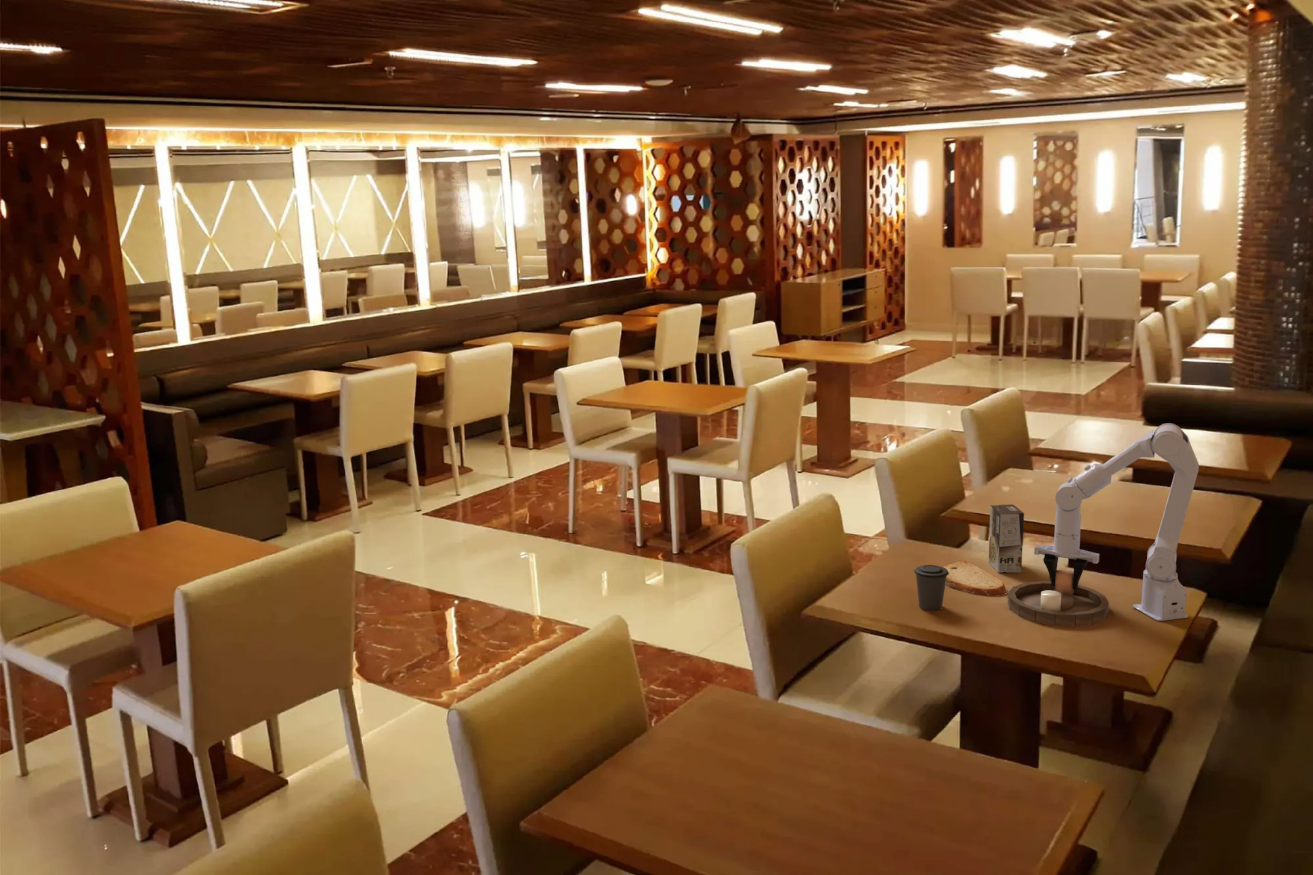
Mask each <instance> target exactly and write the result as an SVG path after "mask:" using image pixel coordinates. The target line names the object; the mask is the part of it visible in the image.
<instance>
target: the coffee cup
mask: <svg viewBox="0 0 1313 875" xmlns="http://www.w3.org/2000/svg"><path fill="white" fill-rule="evenodd" d="M913 573H914V574H915V576H916V588H917V597H918V607H919V608H920V609H922V610H924V611H929V612H937V611H940V610H942V608H943V602H944V596H945V590H946V585H945V583H946V576H947V575H948V574H949V572H948V570H947V569H946V568H944V566H940V565H935V564H924V565H919V566H917V567H916V568H915V569H914V570H913Z"/></svg>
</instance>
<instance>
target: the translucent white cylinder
mask: <svg viewBox="0 0 1313 875" xmlns="http://www.w3.org/2000/svg"><path fill="white" fill-rule="evenodd" d="M1040 609H1043V610H1049V611H1054V612H1060V610H1061V593H1059V592H1057V591H1052V590H1046V591H1042V592H1041V605H1040Z"/></svg>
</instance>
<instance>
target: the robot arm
mask: <svg viewBox="0 0 1313 875" xmlns="http://www.w3.org/2000/svg"><path fill="white" fill-rule="evenodd" d="M1155 454H1156V455H1157V456H1158V457H1160V458H1162V459H1163V460H1164V461H1166V462H1167V463H1168V464H1169V465H1170V467H1171V468H1172V469H1173V470H1174V473H1173V478H1172V482H1171V485H1170V487H1169V488H1170V489H1169V491H1168V492H1169V493H1168V496H1167V500H1166V503H1165V506H1164V509H1163V515H1162V517H1161V522H1160V525H1159V527H1158V528H1159V529H1158V532H1157V534H1156V538H1155V540H1154V543H1153V544H1151V546H1150V547H1148V550H1147V555H1146V557H1147V559H1146V562H1145V569H1144V570H1143V574H1142V575H1143V577H1142V589H1141V590H1142V591H1141V603H1137V604H1133V605H1132V608H1134V609H1136V610H1137V611H1139V612H1140V613H1143V614H1145V615H1146V616H1148V617H1149V618H1151V619H1153V620H1155V621H1158V622H1161V621H1171V620H1179V619H1187V618H1189V615H1188V614H1186V604H1187V590H1186V588H1185V587H1184V586H1183V585H1182V583H1181V582H1180V581H1179V578H1178V576H1179V575H1178V572H1176V571H1177V564H1176V563H1177V558H1178V555H1177V554H1178V553H1177V549H1178V544H1179V539H1180V537H1181V533H1182V530H1183V527H1184V522H1185V519H1186V515H1187V512H1188V508H1189V504H1190V501H1191V498H1192V494H1193V491H1194V488H1195V484H1196V479H1197V476H1198V474H1199V467H1200V466H1199V461H1198V458H1197V457H1196V453H1195V451H1194V450H1193V447H1192V445H1191V441H1190V438H1189V436H1188V435H1187V434H1186V433H1185V432H1184V431H1183V430H1182V428H1181V427H1179V425H1176V424H1175V423H1171V422H1169V423H1162V424H1161V425H1159V426H1158V427H1156V429H1155V430H1154V429H1153V430H1149V431H1148V432H1146V433H1145V434H1143V435H1141V436H1140V437H1139V438H1136V440H1133V442H1131V443H1129V445H1127V446H1126V447H1125V448H1124V449H1122V450H1121V451H1120V452H1118V453H1117V454H1115V455H1114V456H1113V457H1112V458H1111V457H1110V459H1108V460H1107V461H1105V462H1104V463H1102V464H1101V463H1093V464H1092V465H1090V463H1089V464H1087V465H1085V466H1084V468H1083V469H1084V470H1083V471H1082V472H1080V473H1078V474H1077V475H1076V476H1074V477H1069V478H1068V479H1067V482H1064V483H1062V484H1061V485H1060V486H1059V487H1058V489H1057V490H1056V491H1057V492H1056V494H1055V496H1054V497H1055V503H1056V506H1055V507H1056V508H1055V510H1056V513H1055V516H1054V517H1055V518H1054V538H1053V539H1054V540H1053V541H1054V542H1053V543H1054V544H1053V545H1041V544H1036V545H1035V546H1034V549H1033V550H1034V552H1033V555H1036V556H1039V555H1043V559H1042V560H1043V564H1044V566H1045V568H1046V569H1047V571H1048V572H1047V573H1048V576H1049V579H1050V581H1051V586H1055V572H1056V571H1057V570H1058V562H1059V558H1064V559H1069V560H1075V561H1074V562H1073V564H1072V566H1073V572H1074V580H1073V589H1075V590H1076V589H1077V588H1078V585H1079V583H1080V579H1081V577H1082V575H1083V572H1084V570H1085V568H1086V566H1087V564H1088V563H1089V562H1090V563H1092V564H1098V563H1099V562H1100V553H1096V552H1093V551H1088V550H1085V549H1080V546H1081V545H1080V544H1081V524H1082V514H1081V506H1082V505H1081V504H1082V502H1083V500H1087V499H1089V498H1090V497H1093V495H1095V494H1097V493H1098V492H1100V491H1101V490H1102V489H1104V488H1105V487H1107V486H1108V485H1111V482H1112V476H1113V475H1115V474H1117V473H1118V472H1120V471H1121V470H1123V469H1125V468H1126V467H1128V466H1130V465H1131V464H1133V463H1134V462H1136V461H1137V460H1139V459H1141V458H1153V459H1154V458H1155Z"/></svg>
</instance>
